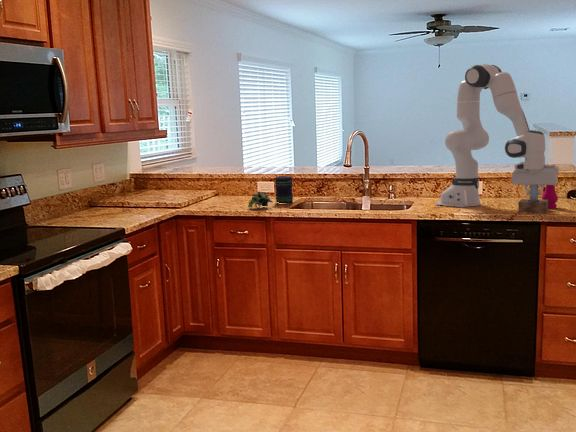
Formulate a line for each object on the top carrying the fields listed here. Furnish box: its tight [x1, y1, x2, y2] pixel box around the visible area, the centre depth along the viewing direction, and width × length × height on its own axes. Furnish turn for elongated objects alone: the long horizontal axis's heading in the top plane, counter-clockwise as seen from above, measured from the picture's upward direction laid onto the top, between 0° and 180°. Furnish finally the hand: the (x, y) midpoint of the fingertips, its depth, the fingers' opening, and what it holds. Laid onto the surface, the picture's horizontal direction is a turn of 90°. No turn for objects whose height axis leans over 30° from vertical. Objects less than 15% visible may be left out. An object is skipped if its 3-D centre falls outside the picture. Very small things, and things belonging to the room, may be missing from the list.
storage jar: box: [274, 175, 294, 204], centre depth 343 cm, size 10×10×15 cm
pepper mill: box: [541, 167, 559, 210], centre depth 293 cm, size 7×7×20 cm
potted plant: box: [247, 191, 273, 209], centre depth 328 cm, size 11×11×12 cm
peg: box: [529, 184, 539, 202], centre depth 285 cm, size 4×4×10 cm
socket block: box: [517, 198, 549, 214], centre depth 287 cm, size 12×10×5 cm
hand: (533, 194), depth 285 cm, fingers closed on peg, 4 cm apart
